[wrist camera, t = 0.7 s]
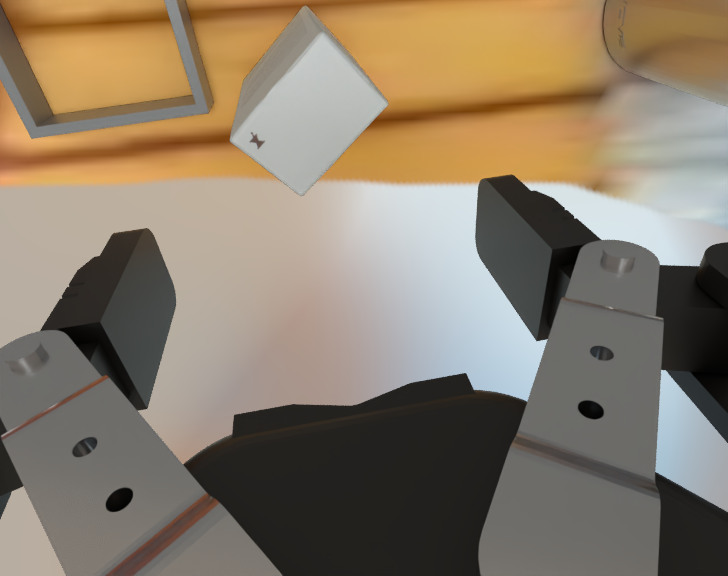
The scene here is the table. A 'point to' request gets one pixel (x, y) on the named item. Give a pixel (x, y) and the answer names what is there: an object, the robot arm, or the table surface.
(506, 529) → the robot arm
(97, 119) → the frame
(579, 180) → the table surface
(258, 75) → the skincare box
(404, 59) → the table surface
